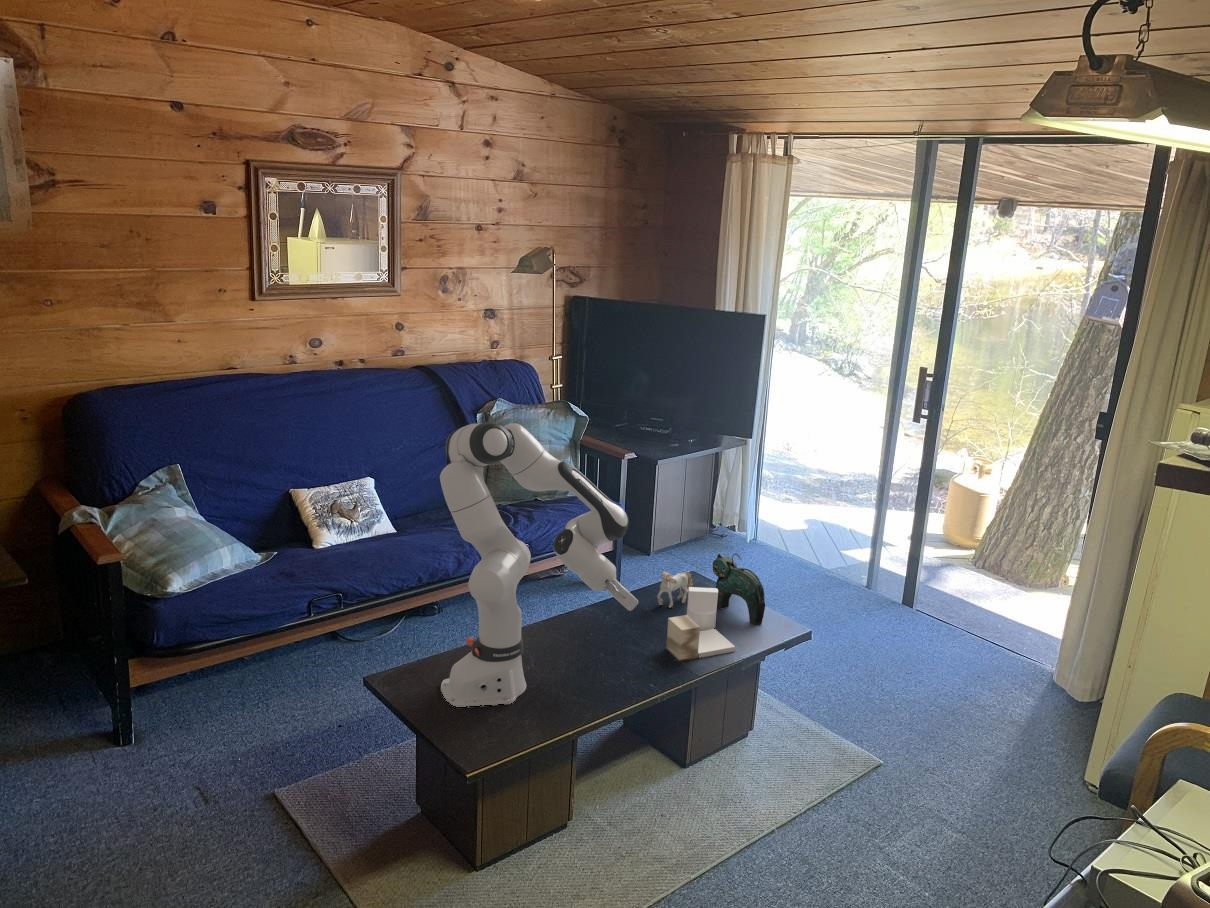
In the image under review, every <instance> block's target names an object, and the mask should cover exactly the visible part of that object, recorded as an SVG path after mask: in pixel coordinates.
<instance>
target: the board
mask: <svg viewBox="0 0 1210 908" xmlns="http://www.w3.org/2000/svg"><path fill="white" fill-rule="evenodd" d="M732 652H734V653H735V652H736V646H735V645H734V644H733V643H732V642H731V641H729V640H728V639H727V638H726V637H725V636H724V635H723V634H721V633H720V632H719V631H718V630H717V629H716V628H715V629H710V630H704V631H700V635H699V648H698V658H699V659H701V657H702V658H706V657H713V656H716V655H717V656H718V655H722V654H728V653H732ZM698 658H697V659H698Z"/></svg>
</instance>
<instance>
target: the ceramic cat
mask: <svg viewBox="0 0 1210 908" xmlns="http://www.w3.org/2000/svg"><path fill="white" fill-rule="evenodd" d="M731 556H732V557H730V556H722V555H721V554H720V553H718V554H717V556H716V559H714V560H713V562H712V573H713V574H714V575H715V576H716V577H717V580H716V583H715V588H717V589H718V599H717V607H718V608H717V609H719V608H724V609H726V608H728V607H730V605H729V604H730V598H731V597H732V595H735V596H738V597H740V598H741V599H743V601H745V603H746V605H747V609H748V617H749V619H748V620H749V624H751V625H753V626H759V625H762V623H763V619H764V617H765V616H764V615H765V610H766V603H765V601H766V600H765V590H764V587H763V584H762V582H761V580H760V578H759V577H758V575H757V574H756V573H755V572H754V571H752V570H750V569H749V568H744V567H739V566H737V565H738V564H737V563H736V562H735V560H734V556H736V557H737V558H738V559H739V560H740V561H741V560H742V558H741V556H740V555H739V554H738V553H733V554H732V555H731ZM725 607H726V608H725Z"/></svg>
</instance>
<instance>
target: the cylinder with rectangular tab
mask: <svg viewBox="0 0 1210 908" xmlns="http://www.w3.org/2000/svg"><path fill="white" fill-rule="evenodd" d="M717 599H718V589H717V588H716V587H698V586H695V587H694V586H692V587H689V591H688V593H687V607H686V615H687V616H688V617H690V618H691V619H692V620H693V621H694V622H695V623H696V624H697V625H699V626H700V631H704V630H710V629H714V628H715V629H716V620H717V612H718V611H717V609H718V608H717Z"/></svg>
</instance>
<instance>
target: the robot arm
mask: <svg viewBox="0 0 1210 908" xmlns="http://www.w3.org/2000/svg"><path fill="white" fill-rule="evenodd" d="M445 455H446V461H445V462H446V464H447V465H446V466H445V467H443V469H442V471H441V472H440V474H439V481H440V486H441V489H442V493H443V496H444V500H445V502H446V505H447V507H448V510H449V511H450V515H451V517H452V518H453V521H454V523H455V525H456V528H457V529H458V532H459V535H460V536H461V538H462V539H463V540H464V541H465V542H468V543H469V544H471V545H472V546H473V547H474V548H475V550H476V551H477V552H478V553H479V555H480V558H481V560H480V561H479V562H477V564H476V565H475V566H474V568H473V569H472V572H471V574H470V577H469V580H468V583H467V584H468V585H467V586H468V591H469V593H470V595H471V596H472V598H473V599H474V600H475V602H476V606H477V610H478V636H477V639H476V640H475V639H474V638H473V637H472V636H469V637H467V638H466V641H465V642H466V644H467V646H468V647H471V651H470V652H469V653H467V654H466V655H464V656H463V657H462V658H460V660H458V661H457V662H455V663H454V664H453V665H452V667H451V670H450V673H449V677H448V678H445V679H443V680H442V681H441V684H440V692H442V693H441V695H442V694H443V696H444V697H443V696H442V697H443V699H444V698H445V699H446V700H445V699H444V700H445V702H446V701H447V702H449V703H450V704H451V705H453V706H456V707H466V706H468V707H467V708H470V707H469V706H480V705H482V706H480V707H485V706H484V705H492V706H499V705H498V704H504V705H511V703H512V704H514V703H515V702H516V700H517V698H518V697H519V696H521V695H522V694H523V693H524V692H525V691H526V689H527V682H526V679H525V676H524V675H525V674H524V669H523V660H522V658H523V654H524V653H523V652H524V642H523V641H524V640H523V636H522V617H523V616H522V615H523V614H522V609H521V608H520V606H519V605H518V601H517V596H516V592H517V587H518V585H519V583H520V581H521V580H522V578H523V577H524V576H525V575H526V574H527V572H528V570H529V567H530V563H531V559H532V558H531V557H532V555H531V552H530V551H531V550H530V549H529V547H528V546H527V544H526V543H525V542H523V541H522V540H520V539H517V538H516V537H515V536H514V534H513V533H512V531H511V530H510V529H509V528H508V526H507V525H506V524H505V522H504V520H503V519H502V517H501V514H500V512H499V510H498V508H497V505H496V504H495V501H494V499H493V497H492V495H491V491H490V490H489V488H488V486H487V484H486V481H485V478H484V470H485V469H484V468H485V467H487V466H490V465H494V464H495V465H496V464H497V463H501V464H502V465H503V466H504V467H505V468H506V470H507V471H508V472H509V473H510V475H511V476H512V477H513V478H514V480H515V481H516V482H517V483H518V484H519V485H520V486H521V487H523V489H526V490H527V491H531V492H547V491H566V492H569V493H572V494H573V495H574V496H576V497H577V498H578V499H579V500H580V501H581V502H582V503H583V504H584V505H585V506H587V508H589V511H587V512H585V513H582V514H580V515H578V516H576V517H574V518H572V519H570V520H569V521H567V522H566V524H565V526H564V529H562V530H560V531H559V532H558V534H557V535H556V536H555V538H554V540H553V544H552V548H553V552H554V553H555V556H556V557H557V558H558V559H559V560H560V562H562V564H563V565H564V566H565V567H567V569H569V570H570V571H571V572H572V573H574V574H576V575H577V576H578V578H579V579H580V581H582V582H583V583H584V584H585V585H587V586H588V587H589V588H590V589H591V590H593V591H594V592H601V591H607V592H608V593H609V594H610V595H611V596H612V597H613V598H614V599H615V600H616V601H617V602H618V603H620V604H621V605H622V607H624V608H625V609H626V610H627V611H629V612H631V611H633V610H634V609H635V608H637V606H638V605H639V603H640V602H639V600H638V599H637V598H636V597H635V596H634V595H633V594H632V593H631V592H630V591H629V590H628V589H627V588H626V587H624V586H623V584H621V582H619V581H618V580H617V568H616V565H615V564H614V563H613V562H612V561H610V560H609V559H608V558H607V557H606V556H605V555H603V554H602V553H600V552H598V548H599V547H600V546H602V545H604V544H607V543H609V542H613V541H615V540H618V539H621V538H624V536H625V534H626V532H627V529H628V527H629V517H628V515H627V512H626V511H625V509H624V508H623V507H622V506H621V505H619V504H618V503H617V502H615V501H613V500H612V499H611V498H610V497H608V496H607V495H606V494H605V493H604V492H602V491H601V490H600V489H599V488H598V486H596V485H595V484H594V483H593V482H592V481H591V480H590V478H588V477H587V476H586V475H584V473H583V472H581V471H580V470H579V469H578V468H577V467H576V466H574V465H573V464H571V463H570V462H567V461H562V460H560V459H558V458H556V457H555V456H553V455H552V454H551V453H549V452H548V451H547V450H546V449H545V447H544V446H543V445H542V444H541V443H540V442H539V440H537V438H536V437H535V436H534V435H533V434H532V433H530V432H529V430H527V429H526V428H525V427H524V426H522V425H521V424H520V423H515V422H514V423H508V424H506V425H504V426H502V425H500V424H498V423H495V422H493V421H492V422H490V421H486V422H485V421H484V422H480V423H470V424H466V425H465V426H461V427H458V428H456V429H455V430H453V431H452V432H451V433H450V434H449V435H448V437H447V438H446V441H445ZM514 701H515V702H514ZM447 702H446V703H447ZM513 702H514V703H513ZM450 704H449V705H450ZM451 705H450V706H451ZM453 706H452V707H453Z"/></svg>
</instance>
